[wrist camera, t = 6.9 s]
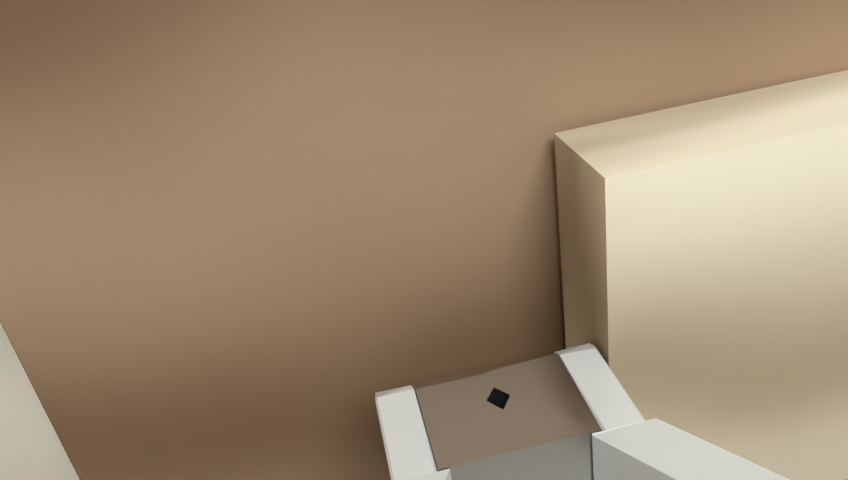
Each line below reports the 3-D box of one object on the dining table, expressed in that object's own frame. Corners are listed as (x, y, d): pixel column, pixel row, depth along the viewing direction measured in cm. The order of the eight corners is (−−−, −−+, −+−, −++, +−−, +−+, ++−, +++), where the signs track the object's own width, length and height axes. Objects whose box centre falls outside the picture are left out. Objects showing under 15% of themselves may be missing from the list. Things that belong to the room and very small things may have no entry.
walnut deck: (-247, -449, 8) (-448, -567, 6) (830, -570, 9) (1016, -709, 7) (245, 684, 17) (243, 804, 15) (730, 553, 19) (793, 647, 16)
